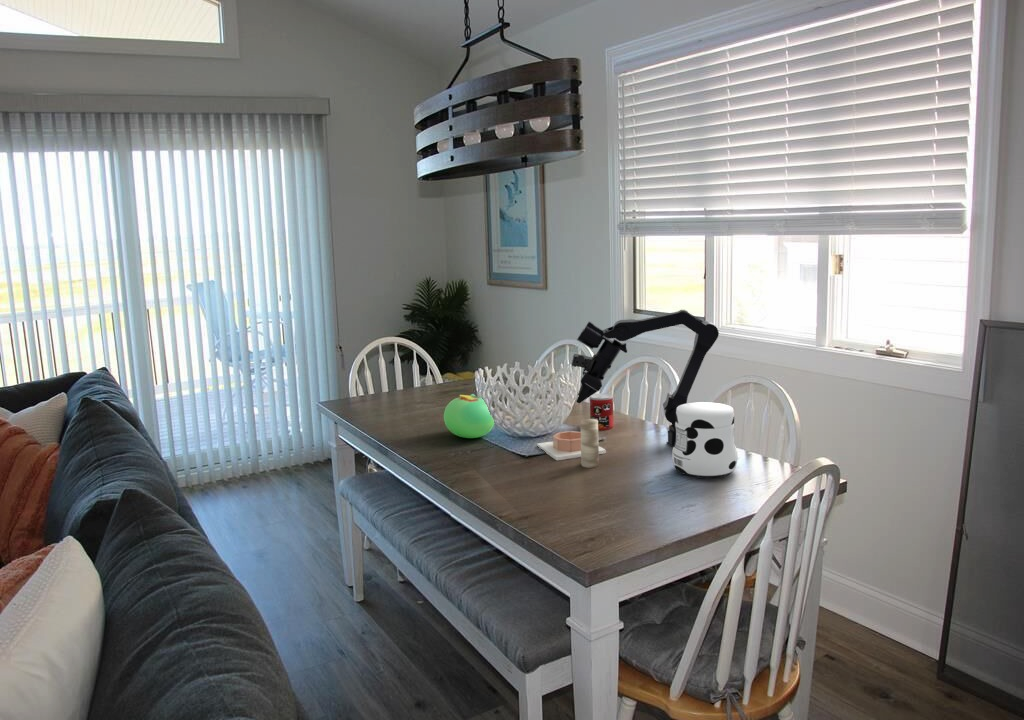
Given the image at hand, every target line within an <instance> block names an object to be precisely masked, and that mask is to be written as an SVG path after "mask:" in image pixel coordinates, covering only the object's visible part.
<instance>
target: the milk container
mask: <svg viewBox="0 0 1024 720" xmlns="http://www.w3.org/2000/svg"><path fill="white" fill-rule="evenodd" d="M675 430H676V437H675V443H674V447H673V446H672V452H671V457H672V464H673V467H674V469H676V470H677V472H679V473H681V474H683V475H685V476H688V477H693V478H701V479H714V478H722V477H725V476H729V475H730V474H732V473H733V472H735V469H736V468H737V464H738V450H737V447H736V443H735V412H734V408H733V407H732V406H731V405H728V404H725V403H719V402H711V401H709V402H707V401H698V402H696V401H695V402H689V403H688V402H687V403H686V404H682V405H680V406H678V407H677V409H676V423H675Z"/></svg>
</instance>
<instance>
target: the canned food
mask: <svg viewBox="0 0 1024 720" xmlns="http://www.w3.org/2000/svg"><path fill="white" fill-rule="evenodd" d="M589 415H590V416H589V419H596V420H598V431H607V430H608V431H609V430H611V429H612V428H613V427H614V396H613V394H610V393H608V392H607V393H606V392H604V393H600V392H599V393H598V392H597V393H594V394H593V395H591V396H590V397H589Z"/></svg>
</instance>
